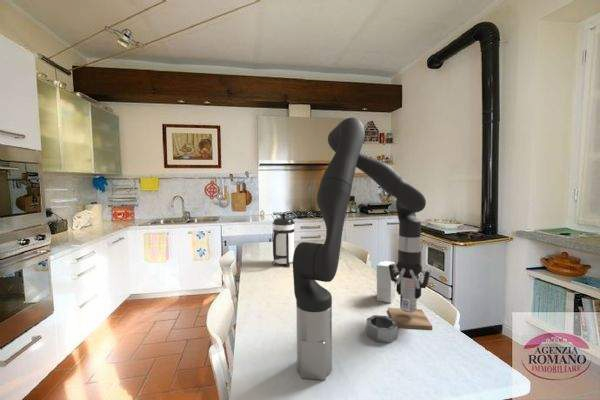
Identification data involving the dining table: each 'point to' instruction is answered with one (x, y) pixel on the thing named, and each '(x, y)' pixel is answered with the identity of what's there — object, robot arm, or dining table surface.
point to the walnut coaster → (410, 318)
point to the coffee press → (283, 240)
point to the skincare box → (385, 282)
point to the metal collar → (382, 329)
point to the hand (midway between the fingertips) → (408, 295)
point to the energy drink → (408, 295)
